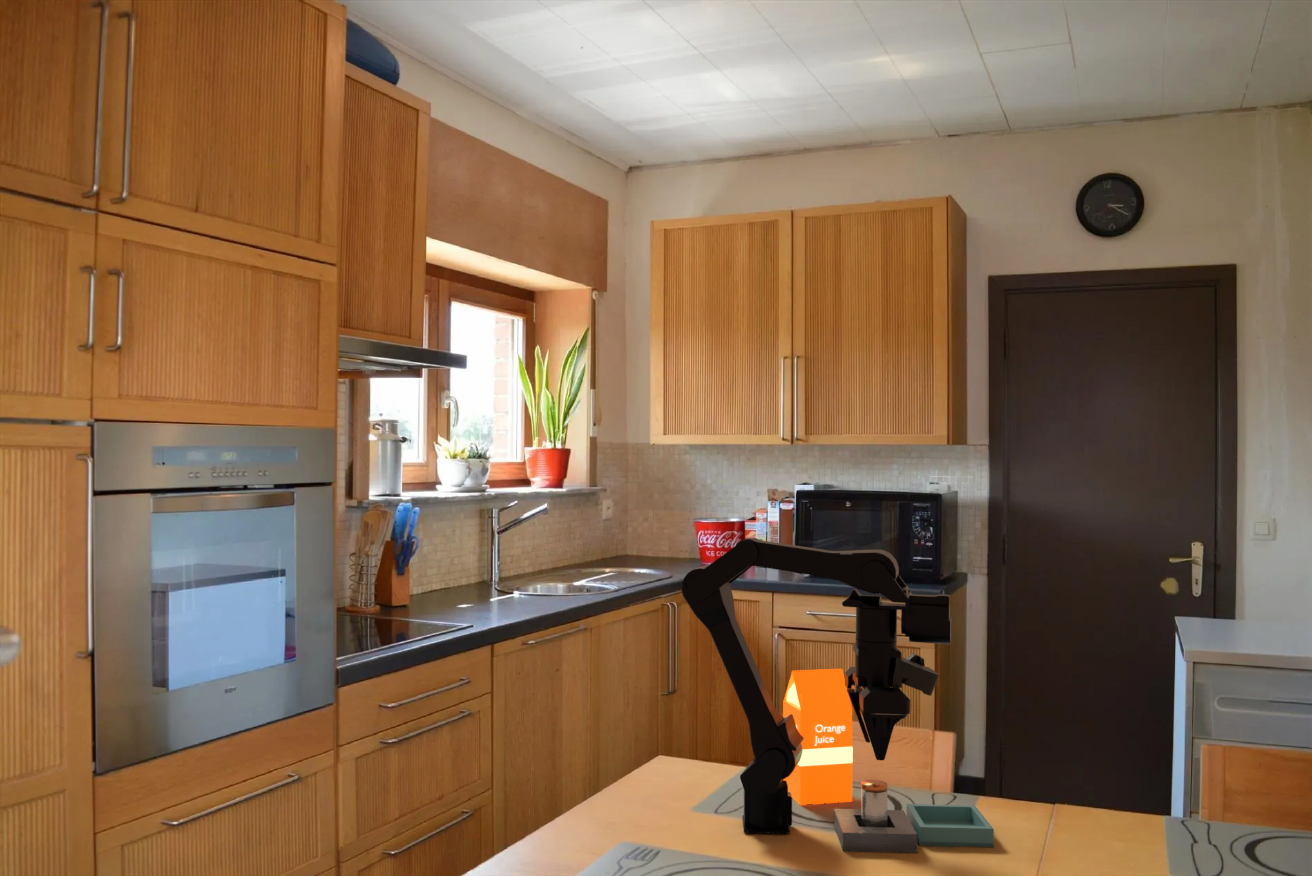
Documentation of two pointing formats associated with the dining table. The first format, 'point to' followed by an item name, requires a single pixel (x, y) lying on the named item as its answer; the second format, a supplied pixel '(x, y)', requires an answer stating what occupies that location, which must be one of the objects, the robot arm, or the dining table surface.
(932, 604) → the robot arm
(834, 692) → the orange juice
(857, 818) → the grey flat square frame
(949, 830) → the tray
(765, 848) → the dining table surface
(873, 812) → the pin
